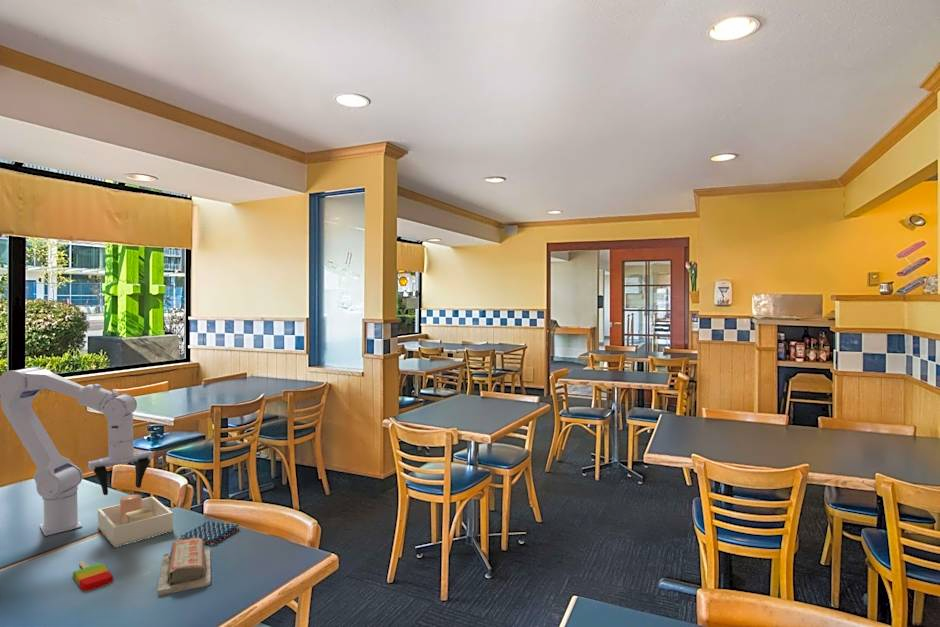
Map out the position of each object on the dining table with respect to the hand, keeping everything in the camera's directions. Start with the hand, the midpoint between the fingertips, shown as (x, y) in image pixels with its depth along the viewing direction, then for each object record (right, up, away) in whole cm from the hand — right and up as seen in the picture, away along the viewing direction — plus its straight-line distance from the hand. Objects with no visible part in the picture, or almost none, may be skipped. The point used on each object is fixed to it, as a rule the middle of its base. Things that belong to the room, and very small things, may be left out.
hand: (122, 490), depth 147 cm
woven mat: (+27, -10, -7) cm, 30 cm away
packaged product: (+31, -10, -26) cm, 41 cm away
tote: (+5, -9, -3) cm, 11 cm away
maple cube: (+8, -9, -6) cm, 13 cm away
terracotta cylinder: (+3, -9, 0) cm, 9 cm away
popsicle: (+10, -11, -27) cm, 31 cm away
